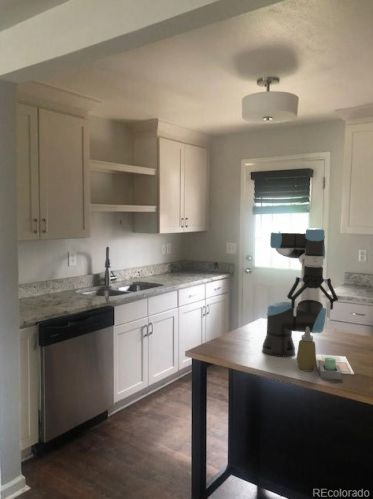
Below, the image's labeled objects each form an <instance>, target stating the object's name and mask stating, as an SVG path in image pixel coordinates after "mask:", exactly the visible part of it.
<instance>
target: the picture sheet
mask: <svg viewBox="0 0 373 499" xmlns="http://www.w3.org/2000/svg"><path fill="white" fill-rule="evenodd" d="M325 358H334V359H336V365H339V367H340V369H341V372H342V375H355V372H354V371H353V368H352V367H351V365H350V363H349V361H348V359H347V357H346V356H345V355H344V356H343V355H327V354H317V353H316V364H315V365H316V368H317V370H318V368H319V364H325ZM318 372H319V370H318Z"/></svg>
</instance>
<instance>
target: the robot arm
mask: <svg viewBox="0 0 373 499" xmlns="http://www.w3.org/2000/svg"><path fill="white" fill-rule="evenodd" d="M325 236H326V235H325V230H324V229H323V228H307V229H306V230H305V231H280V230H278V231H272V232H271V233H270V243H269V244H270V248H271V249H275V251H276V252H277V253H278V254H279V255H280V256H283V257H285V258H290V259H298V262H299V263H300V265H301V273H300V274H301V276H300V277H299V276H296V277H295V280H294V283H293V285H292V287H291V288H290V290H289V292H288V293H287V295H286V297H287V299H289V300H291V301H290V302H288V301H278V302H272V303H270V304H269V305H268V306H267V313H266V316H267V320H266V335H265V337H264V340H263V344H262V347H261V348H262V353H265V354H267V355H270V356H275V357H290V356H293V355H295V353H296V347H295V344H294V340H293V333H292V332H299V333H305V330H306V327H309V330H310V334H322V333H323V332H324V329H325V323H326V318H327V319H331V311H332V310H333V309H334V302H337V301H339V298H338V296H337V293H336V291H335V290H334V288H333V285H332V280H331V278H330V277H326V278H324V277H323V276H324V275H323V274H324V268H323V266H324V260H325V259H326V246H325V245H326V244H325V238H326V237H325ZM299 283H301V284H300V287H299V289H297V288H298V286H299ZM323 283H325V284H327V286H328V289H329V291H330V293H331V295H330V294H329V293H328V292H327V290H326V289H325V288H324V286H322V284H323ZM296 290H297V291H296ZM320 290H321V292H322V293H323V294H324V296H325V297H326V298H327V299H328V300H327V301H326V302H327V303H326V307H324V306H323V303H322V302H321V301H320ZM299 296H300V301H297V299H298V297H299ZM331 296H332V297H331Z"/></svg>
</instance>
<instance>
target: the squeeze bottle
mask: <svg viewBox="0 0 373 499" xmlns="http://www.w3.org/2000/svg"><path fill="white" fill-rule="evenodd" d="M316 351H317V350H316V342H315V341H314V336H313V335H311V333H310V330H309V327H306V330H305V332H304V333H303V334H302V335H301V339H300V340H299V341H298V347H297V353H296V363H297V366H298V369H299V370H300V371H304V372H312V371H314V369H315V366H316V365H317V364H316V354H317V352H316Z"/></svg>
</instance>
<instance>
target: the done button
mask: <svg viewBox="0 0 373 499" xmlns="http://www.w3.org/2000/svg"><path fill="white" fill-rule="evenodd" d="M335 368H336V359H334V358H325V369H324V370H334V371H335Z"/></svg>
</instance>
